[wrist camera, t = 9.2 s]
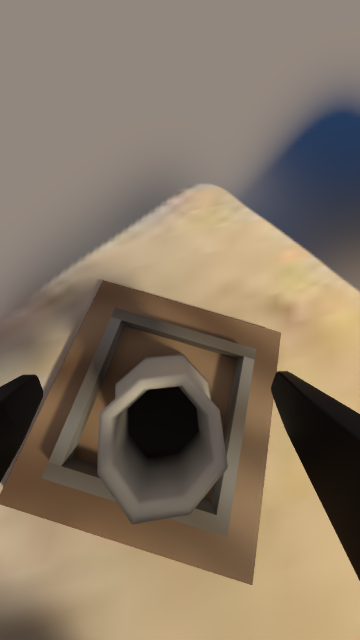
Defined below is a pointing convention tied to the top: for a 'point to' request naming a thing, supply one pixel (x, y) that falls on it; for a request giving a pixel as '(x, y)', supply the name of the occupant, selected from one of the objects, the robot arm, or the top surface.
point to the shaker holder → (99, 391)
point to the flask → (160, 440)
